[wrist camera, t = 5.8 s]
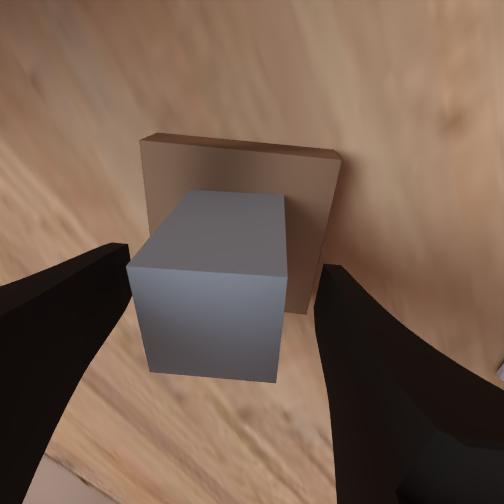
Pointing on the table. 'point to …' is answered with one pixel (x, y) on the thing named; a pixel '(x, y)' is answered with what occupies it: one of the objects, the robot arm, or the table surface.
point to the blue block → (214, 287)
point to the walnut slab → (249, 190)
